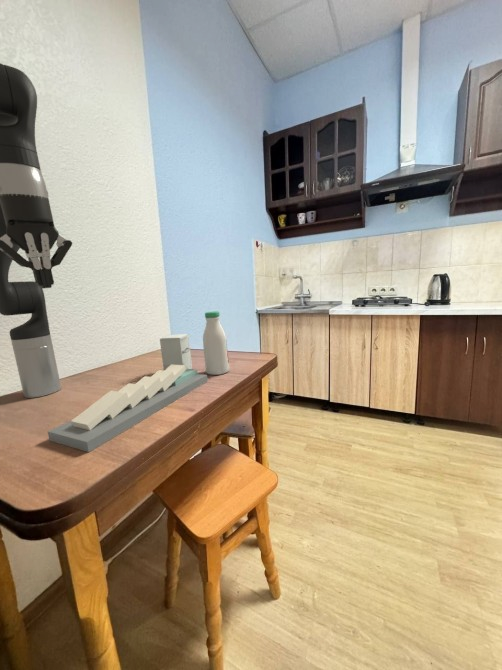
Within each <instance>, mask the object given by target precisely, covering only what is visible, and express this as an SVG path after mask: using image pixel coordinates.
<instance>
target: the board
mask: <svg viewBox="0 0 502 670" xmlns="http://www.w3.org/2000/svg"><path fill="white" fill-rule="evenodd" d="M208 382H209V381H208V374H201V373H200V374H199V373H197V375H195V376H193V377H191V378H189V379H187V380H185V381H183V382H182V383H180V384H178V385H176V386H175V385H170V386H169V387H168V388H167V389H166V390H165V391H158V392H157V393H156V394H155V395H154V396H152V397H151V398H150V399H142V400H141V401H140V402H139V403H138V404H137V405H136V406H135V407H133V408H128V407H125V408H124V409H123V410H122V411H121V412H120V413H119V414H117V415H116V416H115V417H114V418H113V419H110V418H104V419H103V420H102V421H101V422H99V423H98V424H97V425H96V426H95V427H94V428H92V429H91V430H87V429H83V428H78V427H74V426H73V424H72V422H71V421H72V420H73V419H72V420H69V421H67V422H65V423H63V424H61V425H59V426H56V427H54V428H52V429H49V430H48V431H47V435H48V439H49V441H50V442H52V443H56V444H59V445H63V446H66V447H70V448H72V449H77V450H80V451H84V452H87V453H90V452H92V451H94V450H95V449H97V448H99V447H101V446H102V445H103V444H105V443H107V442H109V441H110V440H112V439H114V438H115V437H117V436H119V435H120V434H122V433H123V432H125V431H127V430H129V429H130V428H132V427H134V426H135V425H137V424H139V423H140V422H142V421H144V420H145V419H147V418H149V417H150V416H152V415H154V414H155V413H157V412H159V411H161V410H162V409H164V408H166V407H167V406H169V405H170V404H172V403H175V401H177V400H179V399H180V398H182V397H184V396H185V395H187V394H188V393H190V392H192V391H194V390H195V389H197V388H199V387H200V386H202V385H204V384H205V383H208Z"/></svg>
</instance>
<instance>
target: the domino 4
mask: <svg viewBox="0 0 502 670" xmlns="http://www.w3.org/2000/svg"><path fill="white" fill-rule="evenodd" d="M173 376H174V373H173V371H164V369H163V370H161V369H159V370H157V371H156V372H155V373H154V374H152V375H151V376H150V377H158V378H160V381H161V383H160V384H159V385H157V386H156V387H155V388H154V389H153V390H152V391H151V392H150V393H149V394H148V395H147V396H145V397H144V398H143V399H150V398H151V397H152V396H154V395H155V394H156V393H157V392H158V391H159V390H160V389H161V388H162V387H163V386H164V385H165V384H166V383H167V382H168V381H169V380H170V379H171V378H172V377H173Z"/></svg>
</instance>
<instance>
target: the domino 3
mask: <svg viewBox="0 0 502 670" xmlns="http://www.w3.org/2000/svg"><path fill="white" fill-rule="evenodd" d="M160 383H161V381H160V378H158V377H151V376H146V375H145V376H143V377H141V379H139V380H138V381H137V382H136V383H135V384H139V385H144V387H145V391H144V392H143V393H141V394H140V395H139V396H138V397H137V398H136V399H135V400H133V401H132V402H131V403H130V404H129V405H128V406H127V407H128V408H133V407H135V406H136V405H137V404H138V403H139V402H140V401H141V400H142V399H143V398H144V397H145V396H147V395H148V394H149V393H150V392H151V391H152V390H153V389H154V388H155V387H156V386H157V385H159V384H160Z"/></svg>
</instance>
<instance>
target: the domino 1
mask: <svg viewBox="0 0 502 670" xmlns="http://www.w3.org/2000/svg"><path fill="white" fill-rule="evenodd" d="M118 391H119V390H118ZM118 391H117V390H109V391H108V392H107V393H106V394H104V395H103V396H101V397H100V398H99V399H98V400H96V401H95V402H94V403H93V404H91V405H89V407H87V408H86V409H85V410H84V411H82V412H81V413H80V414H78V415H77V416H76V417H74V418H72V421H71V420H70V421H71V422H72V424H73V426H74V427H78V428H83V429H87V430H91V429H92V428H94V427H95V426H96V425H97V424H98V423H99V422H101V421H102V420H103V419H104V418H105V417H106V416H108V415H109V414H110V413H111V412H112V411H114V410H115V409H116V408H117V407H118V406H119V405H121V404H122V403H123V402H124V401H125V400H127V399H128V395H127V393H125V392H118Z"/></svg>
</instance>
